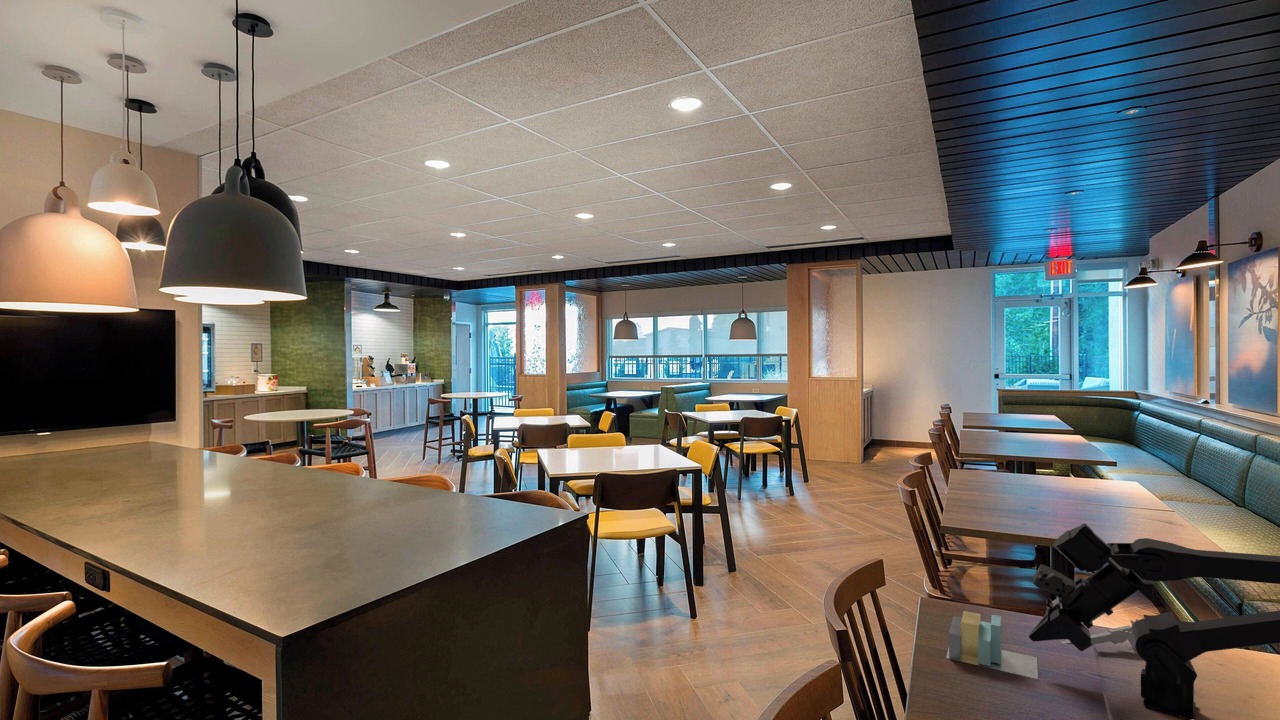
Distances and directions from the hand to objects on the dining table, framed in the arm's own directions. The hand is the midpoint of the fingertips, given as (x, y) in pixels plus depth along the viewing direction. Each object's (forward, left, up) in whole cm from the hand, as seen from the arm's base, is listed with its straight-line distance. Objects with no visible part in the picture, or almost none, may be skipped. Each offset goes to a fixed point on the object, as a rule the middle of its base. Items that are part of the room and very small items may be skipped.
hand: (1030, 638), depth 115 cm
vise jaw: (+7, +1, -5) cm, 8 cm away
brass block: (+10, +2, -5) cm, 11 cm away
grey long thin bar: (-8, -20, -7) cm, 22 cm away
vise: (+6, +1, -7) cm, 9 cm away
